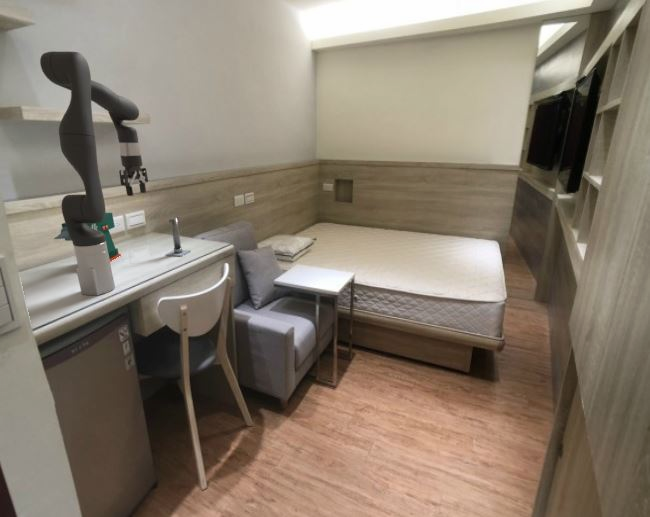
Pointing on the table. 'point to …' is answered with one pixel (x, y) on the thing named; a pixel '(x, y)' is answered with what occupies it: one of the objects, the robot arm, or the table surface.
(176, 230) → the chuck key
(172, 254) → the rest mat
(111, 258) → the power tool
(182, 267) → the table surface
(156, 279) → the table surface
